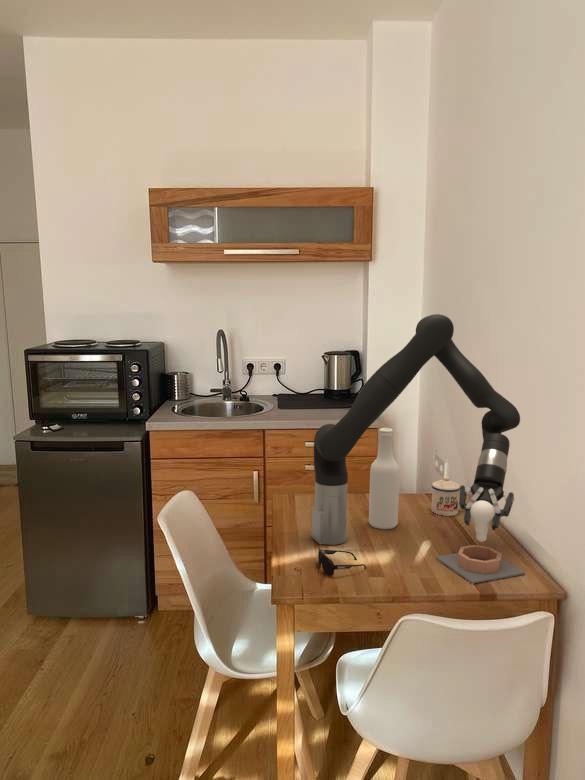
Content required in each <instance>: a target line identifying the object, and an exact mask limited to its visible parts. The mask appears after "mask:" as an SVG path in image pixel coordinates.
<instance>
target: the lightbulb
mask: <svg viewBox="0 0 585 780" xmlns="http://www.w3.org/2000/svg"><path fill="white" fill-rule="evenodd" d="M470 514H471V520H472V521H473V523H474V531H475V534H476V535H475V539H476V540H477V541H478V542H479V543H483V542H484V541H487V534H488V532H489V527H490V526H491V523H493V517H494V515H495V510H494V508H493V505H491V504H490V503H489V502H487V501H482V500H481V501H477V502H475V503H474V504H473V505H472V507H471V510H470Z"/></svg>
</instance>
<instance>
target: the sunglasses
mask: <svg viewBox="0 0 585 780" xmlns="http://www.w3.org/2000/svg"><path fill="white" fill-rule="evenodd" d="M336 553H345V554H350V555H351V556H352V557H353V558H354V561H358V558H357V557H356V556H355V554H353V553H352V552H351V551H347V550H339V549H338V550H335V549H320V547H318V553H317V557H318V559H317V560H318V565H319V567H318V568H322V570H323V573H325V574H326V575H327V576H330V577H333V576H334V574H335V570H350V568H351V569H352V568H353V567H355V568H356V567H361V566H363V569H364V570H366V569H367V566H366V564H363V563H362V564H334V562H333V561H332V559H330V558H329V557H328V556H327V555H334V554H336Z"/></svg>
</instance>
